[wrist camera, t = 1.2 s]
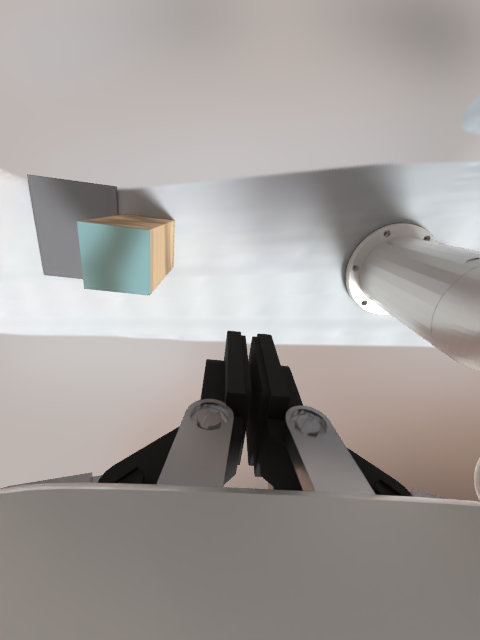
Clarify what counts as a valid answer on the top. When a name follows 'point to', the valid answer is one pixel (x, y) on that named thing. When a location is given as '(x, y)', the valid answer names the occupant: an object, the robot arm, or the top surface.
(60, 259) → the mat
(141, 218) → the oak block
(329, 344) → the top surface
